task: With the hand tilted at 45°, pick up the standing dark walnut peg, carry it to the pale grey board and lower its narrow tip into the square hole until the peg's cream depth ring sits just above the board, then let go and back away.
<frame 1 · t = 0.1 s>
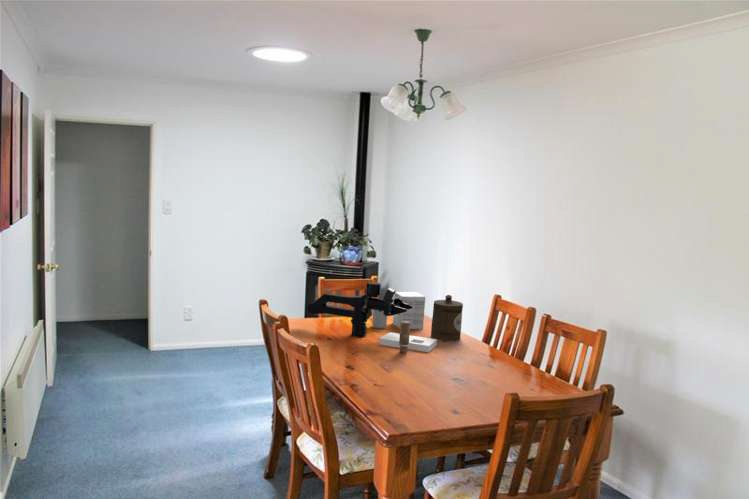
hand: (409, 308, 308), 17 cm above the table, tool horizontal, fingers open, 9 cm apart
supplement box: (407, 326, 345), on the table
wooden container: (445, 338, 324), on the table
can: (379, 327, 338), on the table
grey board: (408, 345, 306), on the table
walnut peg: (403, 352, 292), on the table
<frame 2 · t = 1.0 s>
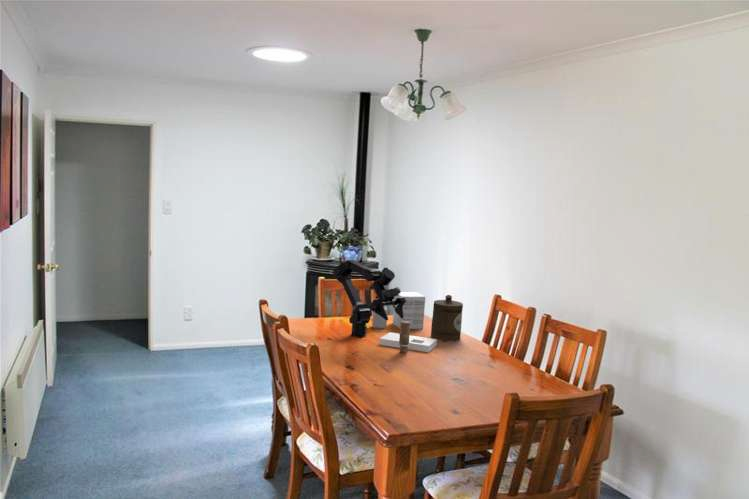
hand: (395, 319, 297), 14 cm above the table, tool tilted 45°, fingers open, 9 cm apart
nothing on the table moved.
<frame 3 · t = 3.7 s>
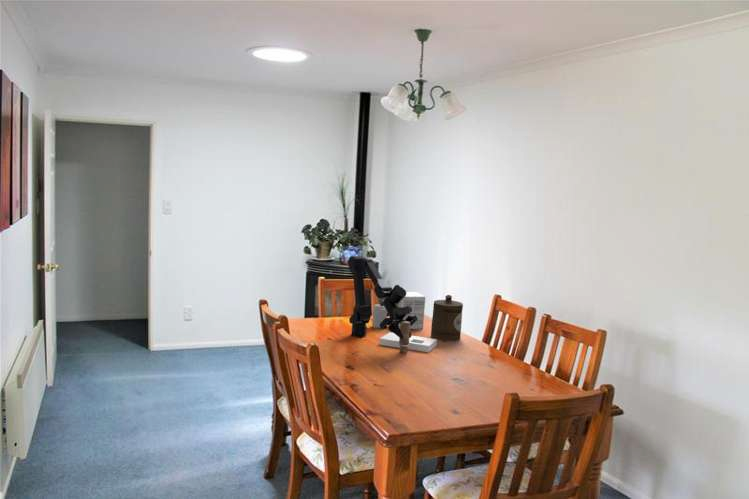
hand: (406, 338, 290), 7 cm above the table, tool tilted 45°, fingers closed on walnut peg, 4 cm apart
walnut peg: (403, 352, 292), on the table, touching gripper
everything else where it was.
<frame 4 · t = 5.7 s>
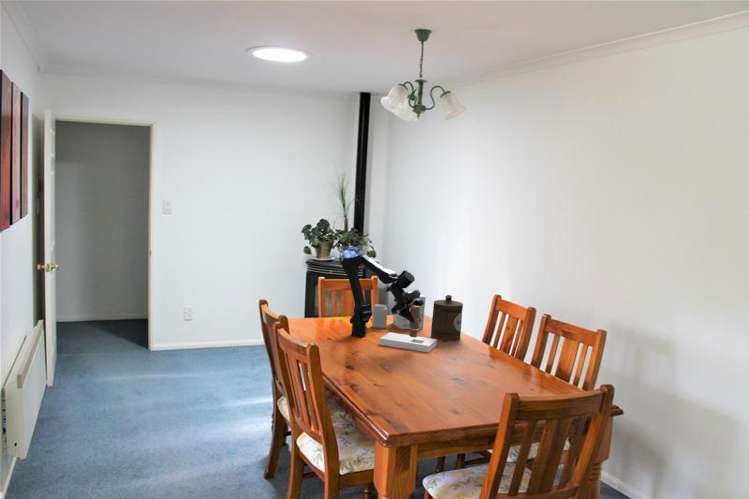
hand: (416, 321, 295), 13 cm above the table, tool tilted 45°, fingers closed on walnut peg, 4 cm apart
walnut peg: (413, 336, 297), point 6 cm above the table, touching gripper
everything else where it was.
when the fingers open (7 cm above the table, at t = 7.9 s): walnut peg stays where it is, resting in grey board.
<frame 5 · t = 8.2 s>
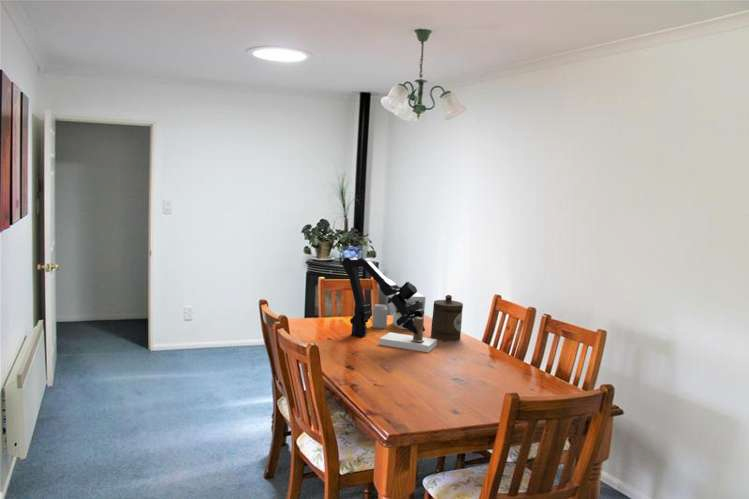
hand: (420, 332, 301), 8 cm above the table, tool tilted 45°, fingers open, 7 cm apart
walnut peg: (417, 347, 302), resting in grey board
everything else where it was.
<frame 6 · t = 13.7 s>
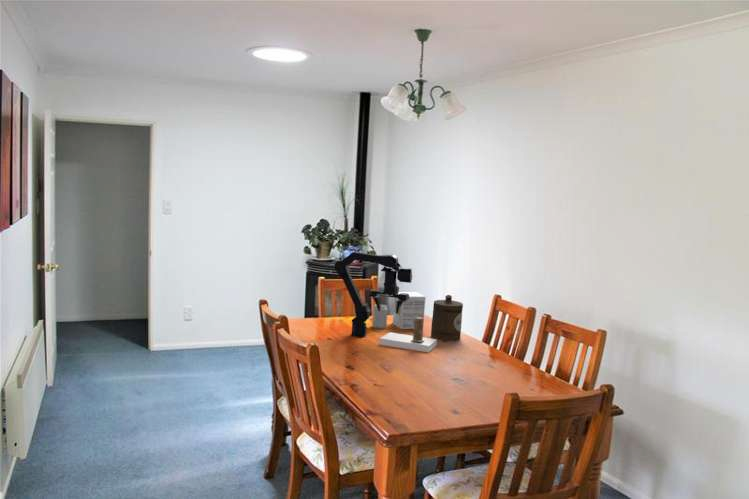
hand: (388, 312, 314), 13 cm above the table, tool pointing down, fingers open, 9 cm apart
nothing on the table moved.
at the end: walnut peg 0.0 cm from the target spot on the grey board, point 0.0 cm above the grey board's base; walnut peg tilted 0°; the gripper is holding nothing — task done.
